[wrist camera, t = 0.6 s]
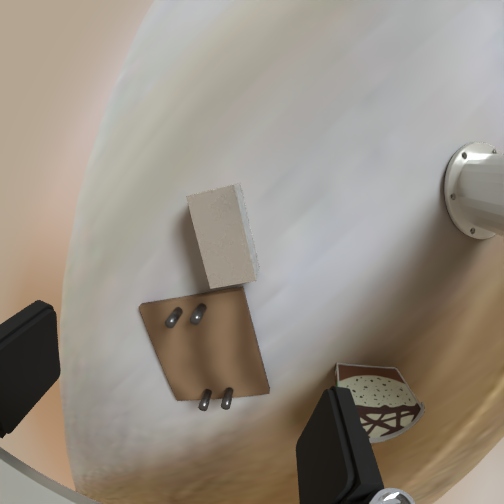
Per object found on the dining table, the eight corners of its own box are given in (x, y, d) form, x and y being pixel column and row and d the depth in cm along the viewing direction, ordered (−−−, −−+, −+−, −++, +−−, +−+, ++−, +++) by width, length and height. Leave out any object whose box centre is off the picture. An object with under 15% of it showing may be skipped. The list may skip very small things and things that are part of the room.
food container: (314, 394, 41) (320, 444, 31) (325, 361, 39) (335, 410, 30) (390, 399, 40) (407, 444, 31) (405, 367, 39) (428, 411, 29)
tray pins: (205, 302, 37) (198, 314, 34) (234, 393, 41) (231, 409, 37) (172, 307, 38) (163, 319, 35) (205, 395, 41) (200, 411, 38)
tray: (243, 286, 38) (241, 289, 36) (269, 388, 41) (269, 393, 40) (142, 303, 40) (138, 306, 38) (179, 395, 43) (177, 400, 42)
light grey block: (240, 182, 35) (233, 184, 30) (259, 266, 37) (256, 280, 32) (198, 192, 36) (186, 196, 31) (219, 273, 38) (210, 288, 33)
